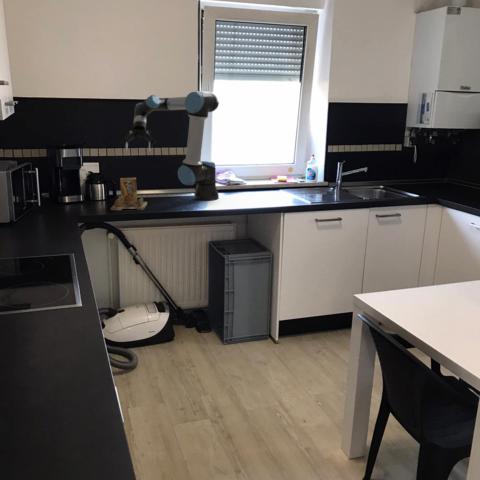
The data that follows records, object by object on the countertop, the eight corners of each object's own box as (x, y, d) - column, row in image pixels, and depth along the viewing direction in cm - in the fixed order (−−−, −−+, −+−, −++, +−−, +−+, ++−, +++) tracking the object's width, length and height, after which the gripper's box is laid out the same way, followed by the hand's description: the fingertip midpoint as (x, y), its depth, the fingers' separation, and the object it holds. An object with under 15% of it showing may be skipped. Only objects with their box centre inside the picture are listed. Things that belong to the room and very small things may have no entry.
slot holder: (147, 203, 316) (146, 196, 315) (143, 209, 298) (142, 202, 297) (116, 204, 315) (116, 197, 314) (110, 210, 297) (110, 202, 296)
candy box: (137, 203, 309) (135, 177, 305) (137, 205, 305) (136, 178, 301) (121, 204, 307) (120, 178, 304) (121, 205, 303) (120, 179, 300)
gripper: (160, 128, 330) (159, 155, 319) (120, 129, 328) (117, 156, 318) (159, 120, 323) (158, 147, 312) (118, 120, 322) (115, 148, 311)
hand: (137, 152), depth 315 cm, fingers open, 13 cm apart
